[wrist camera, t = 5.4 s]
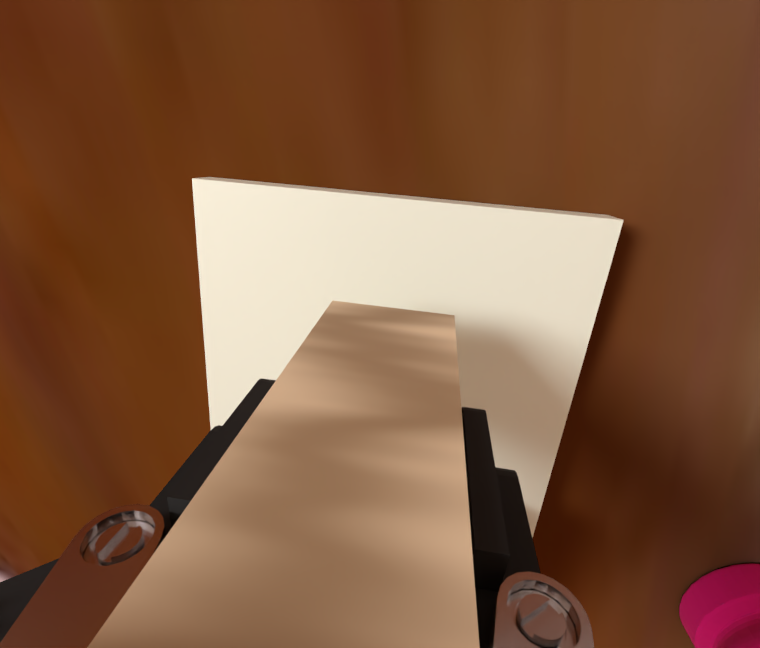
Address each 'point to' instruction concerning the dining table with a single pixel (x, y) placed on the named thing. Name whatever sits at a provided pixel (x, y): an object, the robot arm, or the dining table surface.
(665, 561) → the dining table surface
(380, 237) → the board
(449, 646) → the square wooden peg
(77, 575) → the robot arm
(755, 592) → the pink bowling pin
